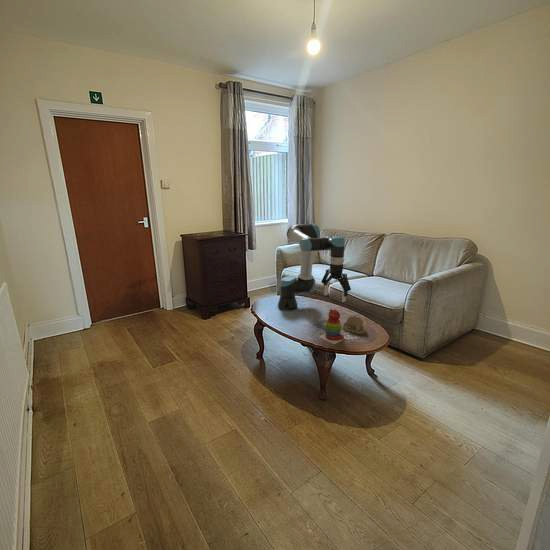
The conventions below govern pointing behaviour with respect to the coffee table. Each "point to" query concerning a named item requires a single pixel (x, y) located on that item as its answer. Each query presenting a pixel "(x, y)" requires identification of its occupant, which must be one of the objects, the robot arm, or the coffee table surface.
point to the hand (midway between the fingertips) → (334, 298)
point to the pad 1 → (321, 324)
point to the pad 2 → (331, 340)
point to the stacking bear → (333, 326)
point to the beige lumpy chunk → (354, 325)
